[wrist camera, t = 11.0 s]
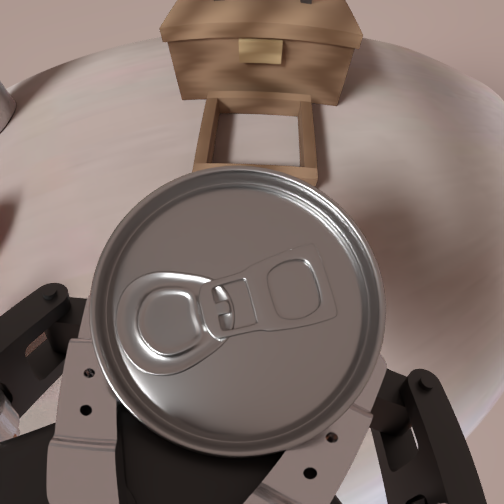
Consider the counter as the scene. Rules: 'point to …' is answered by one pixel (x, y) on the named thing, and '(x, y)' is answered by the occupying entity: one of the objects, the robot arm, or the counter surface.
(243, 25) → the toolbox
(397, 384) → the robot arm
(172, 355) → the can
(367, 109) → the counter surface
